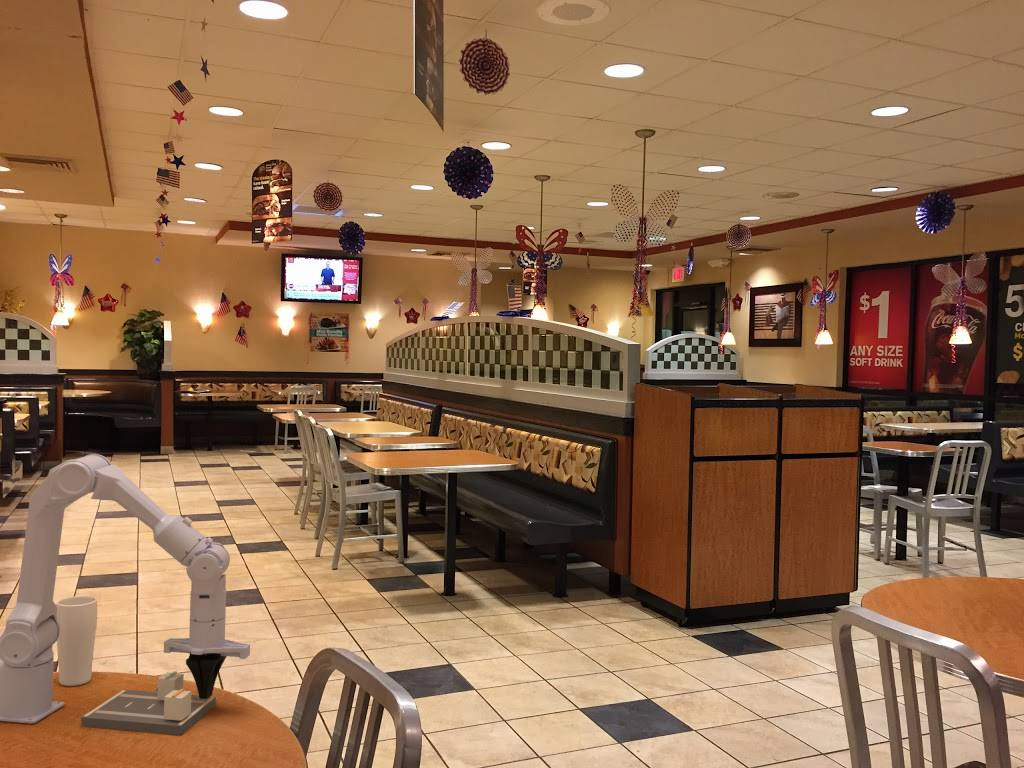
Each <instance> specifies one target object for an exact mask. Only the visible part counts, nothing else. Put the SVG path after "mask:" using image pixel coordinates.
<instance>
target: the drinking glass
mask: <svg viewBox="0 0 1024 768" xmlns="http://www.w3.org/2000/svg"><path fill="white" fill-rule="evenodd" d="M55 605H56V606H57V620H58V622H59V625H60V635H59V638H58V640H57V641H56V646H57V647H56V648H57V660H58V661H57V662H58V663H57V664H58V682H59V684H60V685H62V686H63V687H77V686H82V685H84V684H87V683H88V682H90V681H91V679H92V676H93V669H92V668H93V660H94V659H93V658H94V650H95V644H96V643H95V642H96V641H95V640H96V634H97V626H98V599H97V597H95V596H91V595H74V596H68V597H67V596H66V597H64V598H60V599H59V600H57V601H56V603H55Z"/></svg>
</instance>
